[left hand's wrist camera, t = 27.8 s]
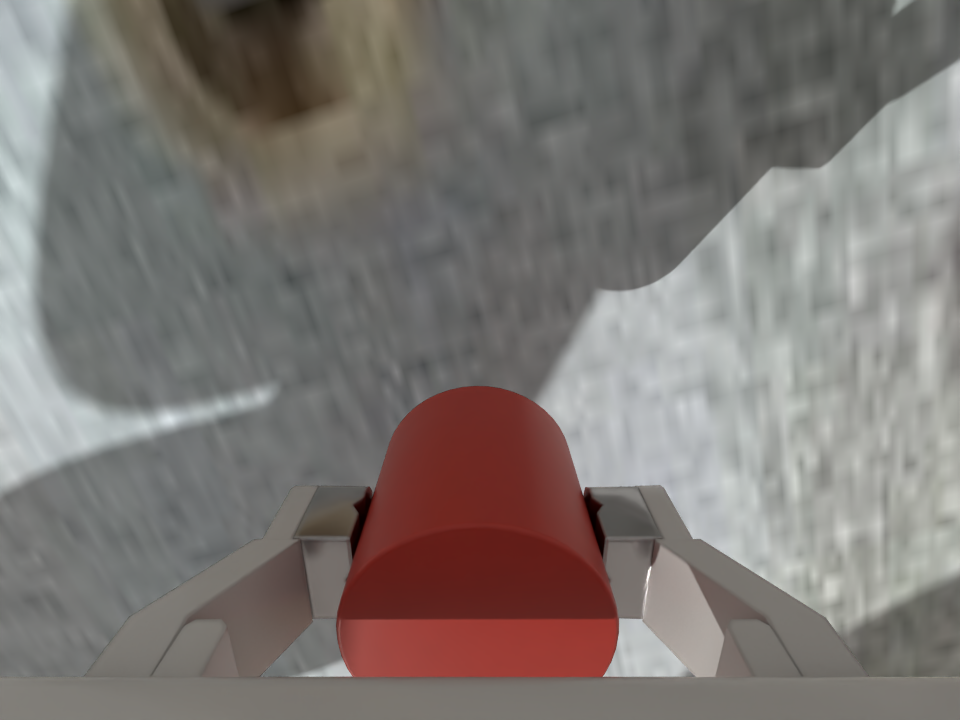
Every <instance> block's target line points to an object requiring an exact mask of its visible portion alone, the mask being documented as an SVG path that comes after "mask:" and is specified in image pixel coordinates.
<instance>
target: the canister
mask: <svg viewBox="0 0 960 720" xmlns="http://www.w3.org/2000/svg"><path fill="white" fill-rule="evenodd" d="M336 630H337V640H338V645H339V648H340V652H341V656H342V658H343V660H344V662H345V664H346V667H347V669H348V670H349V672H350V673H351V675H352V676H353V677H603V675H604V674H605V672H606V670H607V669H608V667H609V665H610V663H611V661H612V658H613V656H614V653H615V650H616V646H617V640H618V634H619V617H618V611H617V605H616V602H615V599H614V595H613V592H612V589H611V586H610V582H609V579H608V576H607V572H606V569H605V566H604V563H603V559H602V556H601V553H600V549H599V546H598V543H597V540H596V536H595V533H594V530H593V527H592V523H591V520H590V517H589V513H588V510H587V507H586V504H585V500H584V497H583V494H582V491H581V487H580V484H579V481H578V477H577V474H576V471H575V468H574V464H573V461H572V458H571V454H570V451H569V448H568V445H567V442H566V439H565V437H564V435H563V433H562V431H561V429H560V427H559V426H558V425H557V423H556V422H555V421H554V419H553V418H552V417H551V416H550V415H549V414H548V413H547V412H546V411H545V410H544V409H543V408H541V407H540V406H539V405H537V404H536V403H535V402H533V401H531V400H529V399H528V398H526V397H524V396H522V395H519V394H517V393H514V392H512V391H508V390H505V389H501V388H495V387H488V386H470V387H461V388H456V389H451V390H448V391H445V392H442V393H439V394H437V395H435V396H433V397H431V398H429V399H427V400H425V401H424V402H422V403H421V404H419V405H418V406H416V407H415V408H414V409H413V410H412V411H411V412H409V413H408V414H407V415H406V417H405V418H404V419H403V420H402V421H401V422H400V424H399V425H398V427H397V429H396V430H395V432H394V434H393V436H392V438H391V440H390V443H389V446H388V449H387V453H386V456H385V459H384V462H383V465H382V469H381V472H380V475H379V478H378V481H377V485H376V488H375V491H374V494H373V497H372V501H371V504H370V507H369V510H368V513H367V517H366V520H365V523H364V526H363V529H362V533H361V536H360V539H359V542H358V545H357V549H356V552H355V555H354V558H353V561H352V564H351V568H350V571H349V574H348V577H347V580H346V584H345V587H344V590H343V593H342V596H341V600H340V604H339V607H338V611H337V621H336Z"/></svg>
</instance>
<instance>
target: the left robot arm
mask: <svg viewBox="0 0 960 720" xmlns="http://www.w3.org/2000/svg"><path fill="white" fill-rule="evenodd" d="M583 497H584V500H585V504H586V507H587V510H588V513H589V517H590V520H591V523H592V527H593V530H594V533H595V536H596V540H597V543H598V546H599V549H600V553H601V556H602V559H603V563H604V566H605V569H606V572H607V576H608V579H609V582H610V586H611V589H612V592H613V595H614V599H615V602H616V605H617V611H618V617H619V618H629V619H643V622H644V623H645V624H646V625H647V626H648V627H649V628H650V629H651V631H652V632H653V633H654V634H655V635H656V636H657V637H658V638H659V639H660V640H661V641H662V642H663V643H664V644H665V645H666V646H667V647H668V648H669V649H670V650H671V651H672V652H673V654H674V655H675V656H676V657H677V658H678V659H679V660H680V661H681V662H682V663H683V664H684V665H685V666H686V667H687V668H688V669H689V670H690V671H691V672H692V673H693V674H694V676H695V677H260V676H261V675H262V674H263V673H264V672H265V671H266V669H267V668H268V667H269V666H270V665H271V664H272V663H273V662H274V661H275V660H276V659H277V658H278V657H279V656H280V655H281V654H282V653H283V652H284V651H285V650H286V649H287V648H288V647H289V646H290V645H291V644H292V643H293V642H294V641H295V640H296V639H297V637H298V636H299V635H300V634H301V633H302V632H303V631H304V630H305V629H306V628H307V627H308V626H309V625H310V624H311V623H312V622H313V619H326V618H337V611H338V607H339V604H340V600H341V596H342V593H343V590H344V587H345V584H346V580H347V577H348V574H349V571H350V568H351V564H352V561H353V558H354V555H355V552H356V549H357V545H358V542H359V539H360V536H361V533H362V529H363V526H364V523H365V520H366V517H367V513H368V510H369V507H370V504H371V501H372V490H371V488H370V487H365V486H295V487H293V488H292V489H291V490H290V491H289V493H288V495H287V497H286V498H285V500H284V502H283V504H282V505H281V507H280V509H279V511H278V512H277V514H276V516H275V518H274V519H273V521H272V523H271V525H270V526H269V528H268V530H267V532H266V533H265V535H264V537H263V539H254V540H252V541H251V542H249V543H248V544H246V545H244V546H243V547H241V548H240V549H238V550H236V551H235V552H233V553H231V554H230V555H228V556H227V557H225V558H223V559H222V560H220V561H219V562H217V563H215V564H214V565H212V566H210V567H209V568H207V569H206V570H204V571H202V572H201V573H199V574H198V575H196V576H194V577H193V578H191V579H190V580H188V581H186V582H185V583H183V584H181V585H180V586H178V587H177V588H175V589H173V590H172V591H170V592H169V593H167V594H165V595H164V596H162V597H161V598H159V599H157V600H156V601H154V602H152V603H151V604H149V605H148V606H146V607H144V608H143V609H141V610H140V611H138V612H136V613H135V614H133V615H131V616H130V617H129V618H128V619H127V621H126V622H125V623H124V624H123V626H122V627H121V628H120V630H119V631H118V632H117V634H116V635H115V636H114V637H113V639H112V640H111V641H110V643H109V644H108V645H107V647H106V648H105V649H104V651H103V652H102V653H101V654H100V656H99V657H98V658H97V660H96V661H95V662H94V664H93V665H92V666H91V668H90V669H89V670H88V671H87V673H86V674H85V675H84V677H0V720H960V677H870V676H869V675H868V674H867V672H866V671H865V670H864V668H863V667H862V666H861V664H860V663H859V662H858V660H857V659H856V658H855V656H854V655H853V654H852V652H851V651H850V650H849V648H848V647H847V646H846V644H845V643H844V642H843V640H842V639H841V638H840V636H839V635H838V634H837V632H836V631H835V630H834V628H833V627H832V626H831V624H830V623H829V622H828V620H827V619H826V618H825V617H824V616H822V615H821V614H819V613H817V612H816V611H814V610H813V609H811V608H809V607H808V606H806V605H805V604H803V603H801V602H800V601H798V600H797V599H795V598H793V597H792V596H790V595H789V594H787V593H786V592H784V591H782V590H781V589H779V588H778V587H776V586H774V585H773V584H771V583H770V582H768V581H766V580H765V579H763V578H762V577H760V576H758V575H757V574H755V573H754V572H752V571H750V570H749V569H747V568H746V567H744V566H743V565H741V564H739V563H738V562H736V561H735V560H733V559H731V558H730V557H728V556H727V555H725V554H723V553H722V552H720V551H719V550H717V549H715V548H714V547H712V546H711V545H709V544H707V543H706V542H704V541H703V540H701V539H693V538H692V537H691V535H690V533H689V531H688V529H687V528H686V526H685V524H684V522H683V521H682V519H681V517H680V515H679V514H678V512H677V510H676V508H675V507H674V505H673V503H672V501H671V500H670V498H669V496H668V494H667V492H666V491H665V489H664V488H663V487H662V486H660V485H649V486H635V487H585V491H584V496H583Z"/></svg>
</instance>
